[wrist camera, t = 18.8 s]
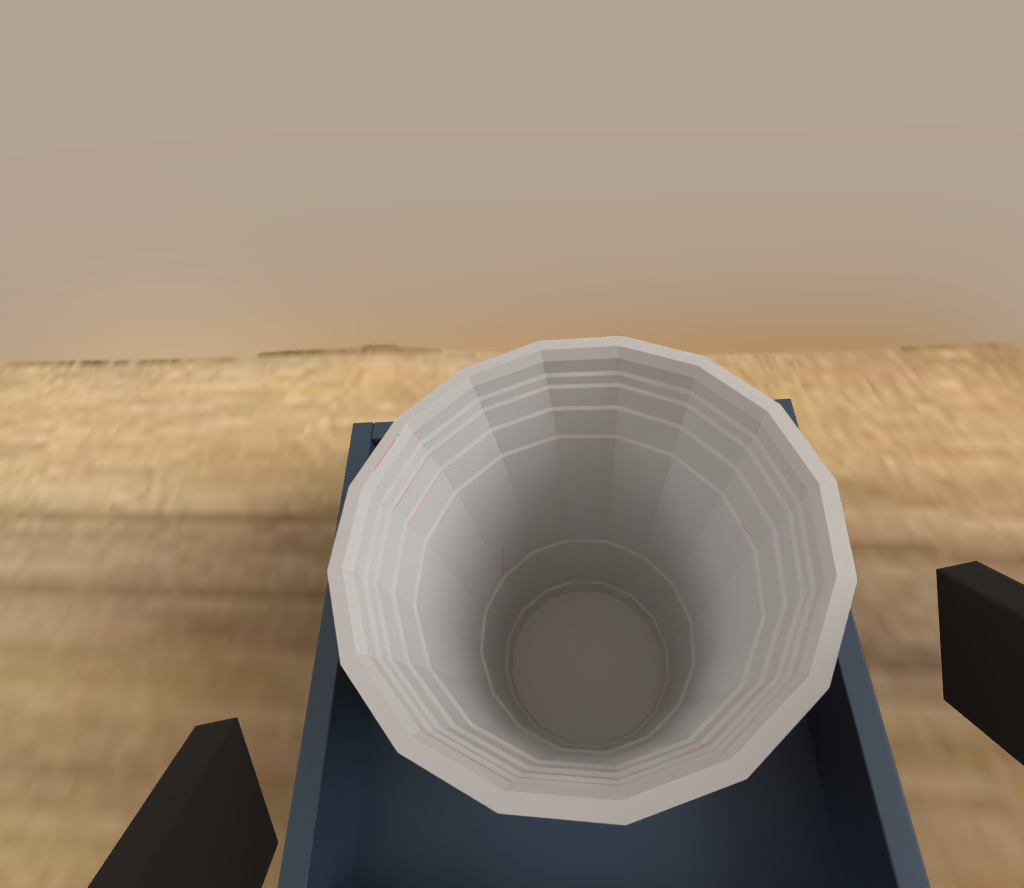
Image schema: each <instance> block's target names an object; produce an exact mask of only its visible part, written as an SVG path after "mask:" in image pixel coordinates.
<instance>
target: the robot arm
mask: <svg viewBox="0 0 1024 888" xmlns="http://www.w3.org/2000/svg"><path fill="white" fill-rule="evenodd" d="M936 574H937V592H938V609H939V626H940V644H941V661H942V678H943V696H944V700H945V701H946V702H947V703H949V704H950V705H951V706H952V707H954V708H955V709H956V710H957V711H958V712H960V713H961V714H962V715H963V716H964V717H966V718H967V719H968V720H969V721H970V722H972V723H973V724H974V725H975V726H976V727H978V728H979V729H980V730H981V731H983V732H984V733H985V734H986V735H987V736H989V737H990V738H991V739H992V740H993V741H995V742H996V743H997V744H998V745H999V746H1001V747H1002V748H1003V749H1004V750H1005V751H1007V752H1008V753H1009V754H1010V755H1011V756H1013V757H1014V758H1015V759H1016V760H1018V761H1019V762H1020V763H1021V764H1022V765H1024V585H1023V584H1021V583H1019V582H1017V581H1015V580H1013V579H1011V578H1009V577H1007V576H1005V575H1003V574H1001V573H999V572H997V571H995V570H993V569H991V568H989V567H987V566H985V565H983V564H981V563H979V562H977V561H974V562H969V563H964V564H959V565H955V566H950V567H945V568H940V569H936ZM277 845H278V840H277V837H276V834H275V831H274V828H273V825H272V822H271V819H270V816H269V813H268V810H267V807H266V804H265V801H264V798H263V795H262V792H261V788H260V785H259V782H258V779H257V776H256V773H255V770H254V767H253V764H252V761H251V758H250V755H249V752H248V749H247V746H246V743H245V740H244V737H243V734H242V731H241V728H240V725H239V721H238V718H237V717H236V718H231V719H227V720H222V721H217V722H213V723H208V724H203V725H198V726H195V728H194V729H193V731H192V732H191V734H190V735H189V737H188V738H187V740H186V741H185V743H184V744H183V746H182V747H181V749H180V750H179V752H178V753H177V755H176V756H175V758H174V759H173V761H172V762H171V764H170V765H169V767H168V768H167V770H166V771H165V773H164V774H163V775H162V777H161V778H160V780H159V781H158V783H157V784H156V786H155V787H154V789H153V790H152V792H151V793H150V795H149V796H148V798H147V799H146V801H145V802H144V804H143V805H142V807H141V808H140V810H139V811H138V813H137V814H136V816H135V817H134V819H133V820H132V822H131V823H130V825H129V826H128V828H127V829H126V831H125V832H124V834H123V835H122V837H121V838H120V840H119V841H118V843H117V844H116V846H115V847H114V849H113V850H112V852H111V853H110V855H109V856H108V858H107V859H106V861H105V862H104V864H103V865H102V867H101V868H100V870H99V871H98V873H97V874H96V876H95V877H94V879H93V880H92V882H91V883H90V885H89V886H88V888H262V885H263V883H264V880H265V877H266V875H267V872H268V869H269V866H270V864H271V861H272V858H273V855H274V853H275V850H276V847H277Z"/></svg>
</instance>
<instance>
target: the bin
mask: <svg viewBox="0 0 1024 888" xmlns="http://www.w3.org/2000/svg"><path fill="white" fill-rule="evenodd" d="M774 401H776V402H777V403H779V404H780V405H781V406H782V407H783V408H784V410H785V411H786V413H787V414H788V415H789V417H790V418H791V419H792V421H793V422H794V423H795V425H796V426H797V428H798V429H799V427H798V423H797V420H796V416H795V413H794V409H793V406H792V402H791V399H777V400H774ZM392 424H393V422H378V423H374V424H373V423H372V422H370V423H354V424H353V429H352V436H351V442H350V448H349V454H348V460H347V466H346V472H345V479H344V485H343V491H342V497H341V503H340V509H339V515H338V521H337V528H336V534H337V531H338V527H339V523H340V519H341V515H342V511H343V507H344V503H345V500H346V496H347V492H348V488H349V485H350V484H351V483H352V481H353V480H354V478H355V477H356V475H357V474H358V473H359V471H360V470H361V468H362V467H363V465H364V464H365V462H366V461H367V460H368V458H369V457H370V455H371V454H372V452H373V451H374V450H375V448H376V447H377V445H378V444H379V442H380V441H381V440H382V438H383V437H384V435H385V434H386V432H387V431H388V429H389V428H390V427H391V425H392ZM336 534H335V538H336ZM334 542H335V540H334ZM278 888H931V887H930V884H929V880H928V877H927V873H926V870H925V866H924V863H923V859H922V856H921V852H920V849H919V845H918V842H917V838H916V835H915V831H914V828H913V824H912V821H911V817H910V814H909V811H908V807H907V804H906V800H905V797H904V793H903V790H902V786H901V783H900V779H899V776H898V772H897V769H896V765H895V762H894V758H893V755H892V751H891V748H890V744H889V741H888V737H887V734H886V730H885V727H884V723H883V720H882V716H881V713H880V709H879V706H878V702H877V699H876V695H875V692H874V688H873V685H872V681H871V678H870V675H869V671H868V668H867V664H866V661H865V657H864V654H863V650H862V647H861V643H860V640H859V636H858V633H857V629H856V626H855V622H854V619H853V615H852V612H851V608H850V611H849V615H848V619H847V623H846V626H845V630H844V634H843V638H842V642H841V645H840V649H839V653H838V657H837V661H836V665H835V668H834V672H833V676H832V680H831V684H830V687H829V689H828V690H827V691H826V692H825V693H824V695H823V696H822V697H821V698H820V699H819V700H818V701H817V702H816V703H815V704H814V706H813V707H812V708H811V709H810V710H809V711H808V712H807V713H806V714H805V715H804V717H803V718H802V719H801V720H800V721H799V722H798V723H797V724H796V725H795V727H794V728H793V729H792V730H791V731H790V732H789V733H788V734H787V735H786V736H785V738H784V739H783V740H782V741H781V742H780V743H779V744H778V745H777V746H776V747H775V749H774V750H773V751H772V752H771V753H770V754H769V755H768V756H767V757H766V759H765V760H764V761H763V762H762V763H761V764H760V765H759V766H758V767H757V768H756V770H755V771H754V772H753V773H752V774H751V775H750V776H749V777H748V778H747V779H746V780H743V781H740V782H738V783H735V784H733V785H730V786H727V787H725V788H722V789H719V790H717V791H714V792H712V793H709V794H706V795H704V796H701V797H699V798H696V799H693V800H691V801H688V802H685V803H683V804H680V805H678V806H675V807H672V808H670V809H667V810H664V811H662V812H659V813H657V814H654V815H651V816H649V817H646V818H643V819H641V820H638V821H636V822H633V823H630V824H628V825H617V824H606V823H595V822H584V821H573V820H563V819H552V818H541V817H530V816H519V815H509V814H498V813H497V812H495V811H493V810H492V809H490V808H488V807H487V806H485V805H483V804H482V803H480V802H478V801H477V800H475V799H473V798H472V797H470V796H469V795H467V794H465V793H464V792H462V791H460V790H459V789H457V788H455V787H454V786H452V785H450V784H449V783H447V782H445V781H444V780H442V779H440V778H439V777H437V776H436V775H434V774H432V773H431V772H429V771H427V770H426V769H424V768H422V767H421V766H419V765H417V764H416V763H414V762H412V761H411V760H409V759H408V758H406V757H404V756H403V755H401V754H399V753H398V752H397V751H396V749H395V748H394V746H393V745H392V743H391V741H390V740H389V738H388V737H387V735H386V734H385V732H384V731H383V729H382V728H381V726H380V725H379V723H378V721H377V720H376V718H375V717H374V715H373V714H372V712H371V711H370V709H369V708H368V706H367V705H366V703H365V701H364V700H363V698H362V697H361V695H360V694H359V692H358V691H357V689H356V688H355V686H354V685H353V683H352V681H351V680H350V678H349V677H348V675H347V674H346V672H345V671H344V669H343V668H342V666H341V664H340V657H339V650H338V643H337V637H336V630H335V623H334V616H333V609H332V602H331V595H330V588H329V581H328V583H327V589H326V595H325V601H324V607H323V614H322V620H321V626H320V632H319V638H318V644H317V650H316V657H315V663H314V669H313V675H312V681H311V687H310V693H309V700H308V706H307V712H306V718H305V724H304V730H303V736H302V743H301V749H300V755H299V761H298V767H297V773H296V779H295V785H294V792H293V798H292V804H291V810H290V816H289V822H288V828H287V835H286V841H285V847H284V853H283V859H282V865H281V871H280V878H279V884H278Z"/></svg>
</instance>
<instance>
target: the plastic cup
mask: <svg viewBox="0 0 1024 888" xmlns="http://www.w3.org/2000/svg"><path fill="white" fill-rule="evenodd" d="M327 575H328V581H329V588H330V595H331V602H332V609H333V616H334V623H335V630H336V637H337V643H338V650H339V657H340V664H341V666H342V668H343V669H344V671H345V672H346V674H347V675H348V677H349V678H350V680H351V681H352V683H353V685H354V686H355V688H356V689H357V691H358V692H359V694H360V695H361V697H362V698H363V700H364V701H365V703H366V705H367V706H368V708H369V709H370V711H371V712H372V714H373V715H374V717H375V718H376V720H377V721H378V723H379V725H380V726H381V728H382V729H383V731H384V732H385V734H386V735H387V737H388V738H389V740H390V741H391V743H392V745H393V746H394V748H395V749H396V751H397V752H398V753H399V754H401V755H403V756H404V757H406V758H408V759H409V760H411V761H412V762H414V763H416V764H417V765H419V766H421V767H422V768H424V769H426V770H427V771H429V772H431V773H432V774H434V775H436V776H437V777H439V778H440V779H442V780H444V781H445V782H447V783H449V784H450V785H452V786H454V787H455V788H457V789H459V790H460V791H462V792H464V793H465V794H467V795H469V796H470V797H472V798H473V799H475V800H477V801H478V802H480V803H482V804H483V805H485V806H487V807H488V808H490V809H492V810H493V811H495V812H497V813H498V814H509V815H519V816H530V817H541V818H552V819H563V820H573V821H584V822H595V823H606V824H617V825H628V824H630V823H633V822H636V821H638V820H641V819H643V818H646V817H649V816H651V815H654V814H657V813H659V812H662V811H664V810H667V809H670V808H672V807H675V806H678V805H680V804H683V803H685V802H688V801H691V800H693V799H696V798H699V797H701V796H704V795H706V794H709V793H712V792H714V791H717V790H719V789H722V788H725V787H727V786H730V785H733V784H735V783H738V782H740V781H743V780H746V779H747V778H748V777H749V776H750V775H751V774H752V773H753V772H754V771H755V770H756V768H757V767H758V766H759V765H760V764H761V763H762V762H763V761H764V760H765V759H766V757H767V756H768V755H769V754H770V753H771V752H772V751H773V750H774V749H775V747H776V746H777V745H778V744H779V743H780V742H781V741H782V740H783V739H784V738H785V736H786V735H787V734H788V733H789V732H790V731H791V730H792V729H793V728H794V727H795V725H796V724H797V723H798V722H799V721H800V720H801V719H802V718H803V717H804V715H805V714H806V713H807V712H808V711H809V710H810V709H811V708H812V707H813V706H814V704H815V703H816V702H817V701H818V700H819V699H820V698H821V697H822V696H823V695H824V693H825V692H826V691H827V690H828V689H829V687H830V684H831V680H832V676H833V672H834V668H835V665H836V661H837V657H838V653H839V649H840V645H841V642H842V638H843V634H844V630H845V626H846V623H847V619H848V615H849V611H850V607H851V603H852V600H853V596H854V592H855V588H856V584H857V575H856V570H855V566H854V561H853V556H852V551H851V547H850V542H849V537H848V533H847V528H846V523H845V519H844V514H843V509H842V505H841V500H840V495H839V490H838V486H837V481H836V479H835V478H834V477H833V475H832V474H831V473H830V471H829V470H828V469H827V467H826V466H825V464H824V463H823V462H822V460H821V459H820V458H819V456H818V455H817V454H816V452H815V451H814V449H813V448H812V447H811V445H810V444H809V443H808V441H807V440H806V439H805V437H804V436H803V434H802V433H801V432H800V430H799V429H798V428H797V426H796V425H795V423H794V422H793V421H792V419H791V418H790V417H789V415H788V414H787V413H786V411H785V410H784V408H783V407H782V406H781V405H780V404H779V403H777V402H776V401H774V400H773V399H771V398H770V397H768V396H766V395H765V394H763V393H762V392H760V391H759V390H757V389H755V388H754V387H752V386H751V385H749V384H748V383H746V382H745V381H743V380H741V379H740V378H738V377H737V376H735V375H734V374H732V373H730V372H729V371H727V370H726V369H724V368H723V367H721V366H720V365H718V364H716V363H715V362H713V361H712V360H710V359H709V358H707V357H705V356H701V355H697V354H693V353H689V352H685V351H681V350H677V349H672V348H669V347H665V346H661V345H657V344H653V343H649V342H645V341H641V340H637V339H633V338H628V337H624V336H612V337H595V338H579V339H577V338H576V339H561V340H541V341H537V342H534V343H531V344H529V345H526V346H523V347H520V348H517V349H515V350H512V351H509V352H506V353H504V354H501V355H498V356H495V357H493V358H490V359H487V360H484V361H481V362H479V363H476V364H473V365H470V366H468V367H465V368H462V369H461V370H460V371H458V372H457V373H456V374H454V375H453V376H452V377H450V378H449V379H448V380H446V381H445V382H444V383H442V384H441V385H440V386H438V387H437V388H436V389H434V390H433V391H432V392H430V393H429V394H428V395H426V396H425V397H424V398H422V399H421V400H420V401H418V402H417V403H416V404H414V405H413V406H412V407H410V408H409V409H408V410H406V411H405V412H404V413H402V414H401V415H400V416H398V417H397V418H396V419H395V421H394V422H393V424H392V425H391V427H390V428H389V429H388V431H387V432H386V434H385V435H384V437H383V438H382V440H381V441H380V442H379V444H378V445H377V447H376V448H375V450H374V451H373V452H372V454H371V455H370V457H369V458H368V460H367V461H366V462H365V464H364V465H363V467H362V468H361V470H360V471H359V473H358V474H357V475H356V477H355V478H354V480H353V481H352V483H351V484H350V485H349V488H348V492H347V496H346V500H345V503H344V507H343V511H342V515H341V519H340V523H339V527H338V531H337V534H336V538H335V542H334V546H333V550H332V554H331V558H330V561H329V565H328V569H327Z"/></svg>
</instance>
